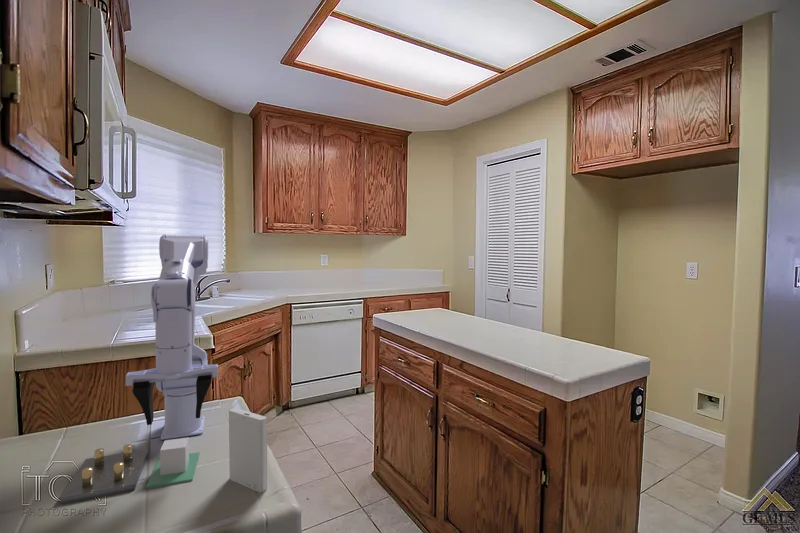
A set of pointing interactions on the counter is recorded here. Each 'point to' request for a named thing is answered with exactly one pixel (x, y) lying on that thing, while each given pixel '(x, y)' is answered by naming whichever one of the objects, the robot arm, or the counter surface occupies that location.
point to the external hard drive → (248, 449)
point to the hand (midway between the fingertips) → (174, 419)
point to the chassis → (106, 475)
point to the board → (173, 477)
